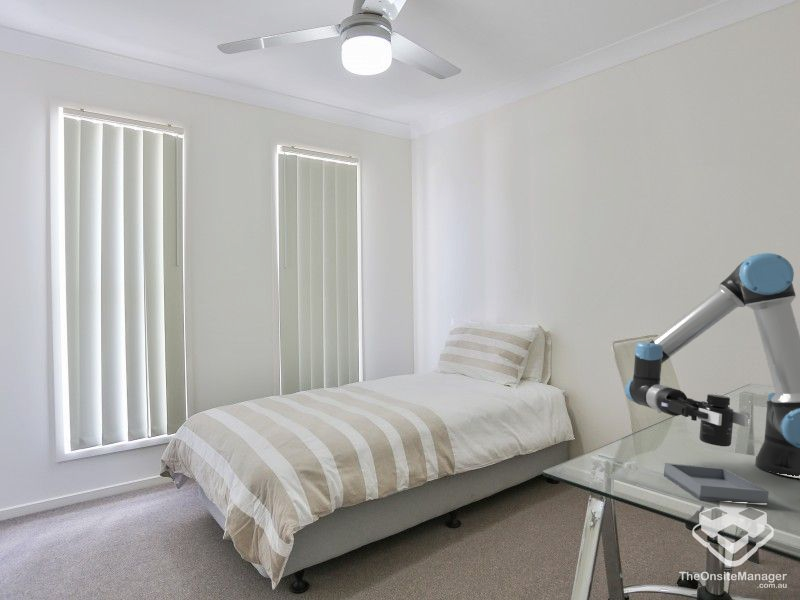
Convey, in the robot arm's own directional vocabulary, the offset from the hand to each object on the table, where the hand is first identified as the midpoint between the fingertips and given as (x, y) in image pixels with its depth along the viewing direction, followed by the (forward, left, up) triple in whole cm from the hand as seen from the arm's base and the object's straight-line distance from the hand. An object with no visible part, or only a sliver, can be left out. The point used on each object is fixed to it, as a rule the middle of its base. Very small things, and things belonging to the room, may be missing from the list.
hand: (733, 420), depth 118 cm
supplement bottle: (+1, -5, -7) cm, 9 cm away
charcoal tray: (+1, -5, -19) cm, 19 cm away
